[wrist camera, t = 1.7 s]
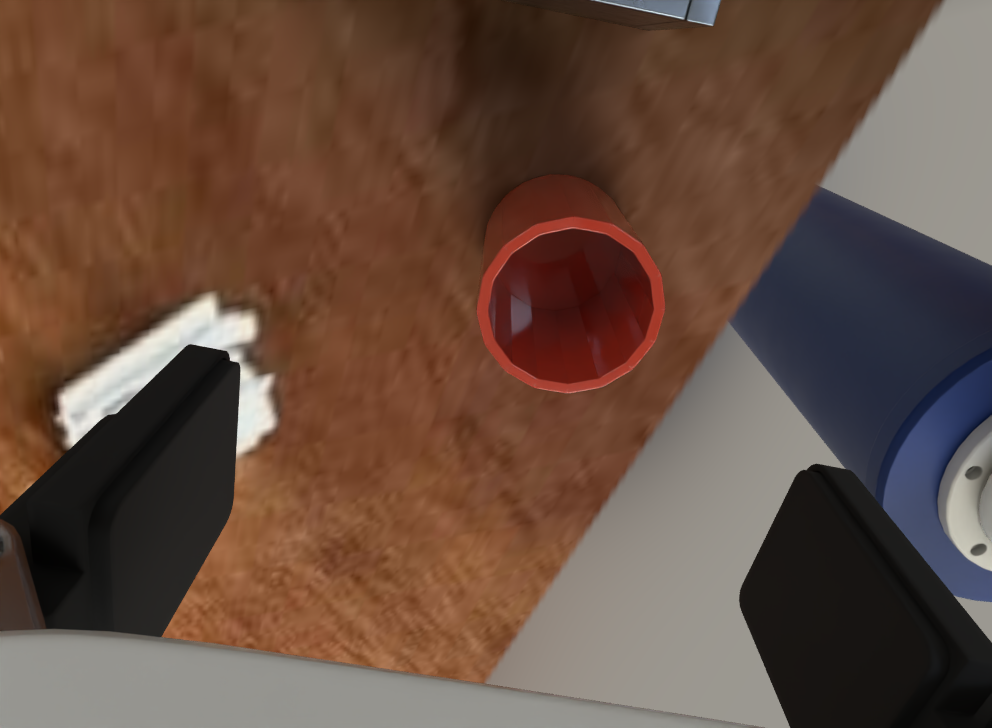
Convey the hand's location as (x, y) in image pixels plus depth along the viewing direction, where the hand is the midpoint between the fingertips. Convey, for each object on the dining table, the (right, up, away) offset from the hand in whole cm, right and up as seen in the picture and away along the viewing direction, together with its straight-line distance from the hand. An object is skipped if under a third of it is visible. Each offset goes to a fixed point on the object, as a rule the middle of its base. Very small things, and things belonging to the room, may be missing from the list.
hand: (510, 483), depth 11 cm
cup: (+2, +7, +19) cm, 21 cm away
